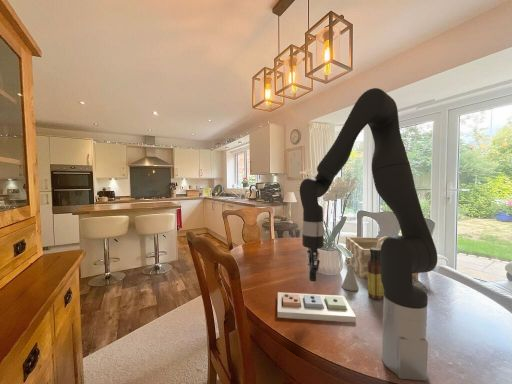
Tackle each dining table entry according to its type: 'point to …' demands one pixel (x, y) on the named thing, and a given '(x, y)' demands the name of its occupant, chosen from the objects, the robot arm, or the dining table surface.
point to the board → (315, 310)
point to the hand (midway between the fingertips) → (312, 280)
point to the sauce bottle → (375, 275)
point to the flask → (350, 279)
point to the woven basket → (363, 254)
